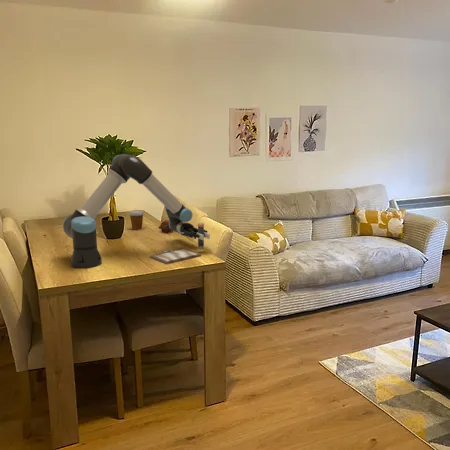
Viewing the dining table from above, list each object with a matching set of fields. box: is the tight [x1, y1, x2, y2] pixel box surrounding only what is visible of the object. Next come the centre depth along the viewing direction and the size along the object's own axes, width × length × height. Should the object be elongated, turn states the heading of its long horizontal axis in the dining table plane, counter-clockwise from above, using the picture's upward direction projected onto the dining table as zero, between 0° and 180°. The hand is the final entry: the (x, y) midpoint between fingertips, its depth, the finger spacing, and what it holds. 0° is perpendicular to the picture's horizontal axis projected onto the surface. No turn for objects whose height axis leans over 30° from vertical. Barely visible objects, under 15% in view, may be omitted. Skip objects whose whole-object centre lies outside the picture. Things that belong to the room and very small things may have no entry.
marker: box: [197, 222, 205, 250], centre depth 258 cm, size 3×3×14 cm
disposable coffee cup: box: [129, 209, 144, 231], centre depth 315 cm, size 10×10×12 cm
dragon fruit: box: [158, 219, 173, 233], centre depth 308 cm, size 8×8×12 cm
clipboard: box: [149, 248, 202, 265], centre depth 251 cm, size 22×16×2 cm
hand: (206, 237), depth 253 cm, fingers closed on marker, 3 cm apart
